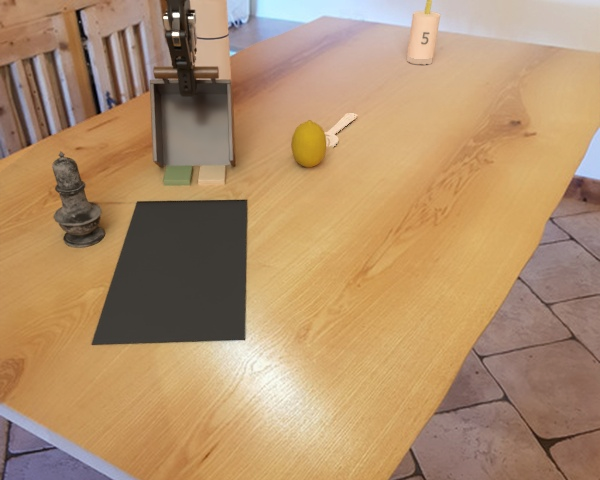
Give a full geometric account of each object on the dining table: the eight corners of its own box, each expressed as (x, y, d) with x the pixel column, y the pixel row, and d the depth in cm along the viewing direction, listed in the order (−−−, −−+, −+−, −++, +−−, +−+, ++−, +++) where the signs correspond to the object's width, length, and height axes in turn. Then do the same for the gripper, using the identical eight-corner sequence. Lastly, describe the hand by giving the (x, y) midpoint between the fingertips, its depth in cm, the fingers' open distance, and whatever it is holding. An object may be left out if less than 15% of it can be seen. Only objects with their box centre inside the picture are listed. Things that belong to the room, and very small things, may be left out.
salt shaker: (80, 220, 76) (57, 137, 68) (116, 229, 74) (96, 146, 66) (51, 242, 72) (23, 157, 64) (88, 252, 70) (64, 166, 62)
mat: (147, 169, 88) (147, 167, 88) (247, 167, 89) (247, 166, 89) (91, 344, 57) (91, 343, 57) (244, 340, 58) (244, 338, 58)
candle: (408, 65, 131) (417, -5, 121) (405, 57, 136) (414, -12, 126) (434, 66, 131) (446, -5, 121) (430, 57, 136) (441, -11, 126)
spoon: (366, 118, 105) (366, 115, 105) (326, 154, 93) (326, 151, 93) (341, 112, 107) (341, 110, 107) (298, 147, 95) (298, 144, 94)
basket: (157, 88, 87) (142, 64, 76) (232, 88, 88) (228, 64, 77) (160, 168, 88) (146, 155, 77) (235, 167, 89) (231, 154, 78)
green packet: (162, 180, 82) (163, 187, 83) (189, 180, 82) (190, 187, 83) (166, 165, 86) (167, 172, 87) (192, 165, 86) (193, 172, 87)
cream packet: (197, 180, 82) (198, 187, 83) (224, 179, 83) (224, 187, 83) (200, 165, 86) (200, 172, 87) (225, 164, 86) (226, 171, 87)
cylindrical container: (210, 110, 107) (197, -38, 91) (190, 99, 111) (174, -44, 95) (239, 101, 111) (232, -43, 95) (218, 91, 115) (208, -48, 99)
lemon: (303, 179, 86) (304, 130, 81) (284, 165, 90) (284, 118, 84) (332, 171, 88) (335, 123, 83) (312, 158, 92) (314, 111, 87)
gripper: (150, -55, 74) (168, 78, 85) (132, -40, 63) (156, 110, 74) (206, -54, 74) (217, 78, 85) (198, -39, 63) (211, 109, 74)
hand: (188, 92), depth 79 cm, fingers closed on basket
